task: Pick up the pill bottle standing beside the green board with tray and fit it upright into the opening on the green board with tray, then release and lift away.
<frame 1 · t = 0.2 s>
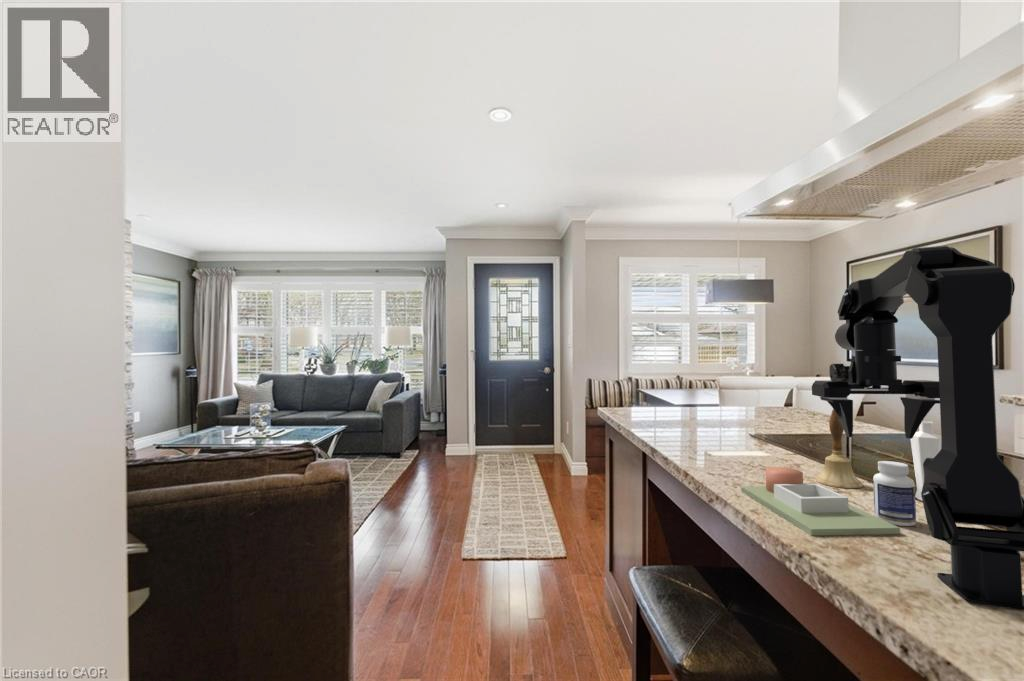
hand: (878, 437, 79), 14 cm above the countertop, fingers open, 9 cm apart
hand bell: (838, 483, 97), on the countertop
green board with tray: (809, 509, 81), on the countertop
pill bottle: (895, 522, 75), on the countertop
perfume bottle: (928, 500, 85), on the countertop
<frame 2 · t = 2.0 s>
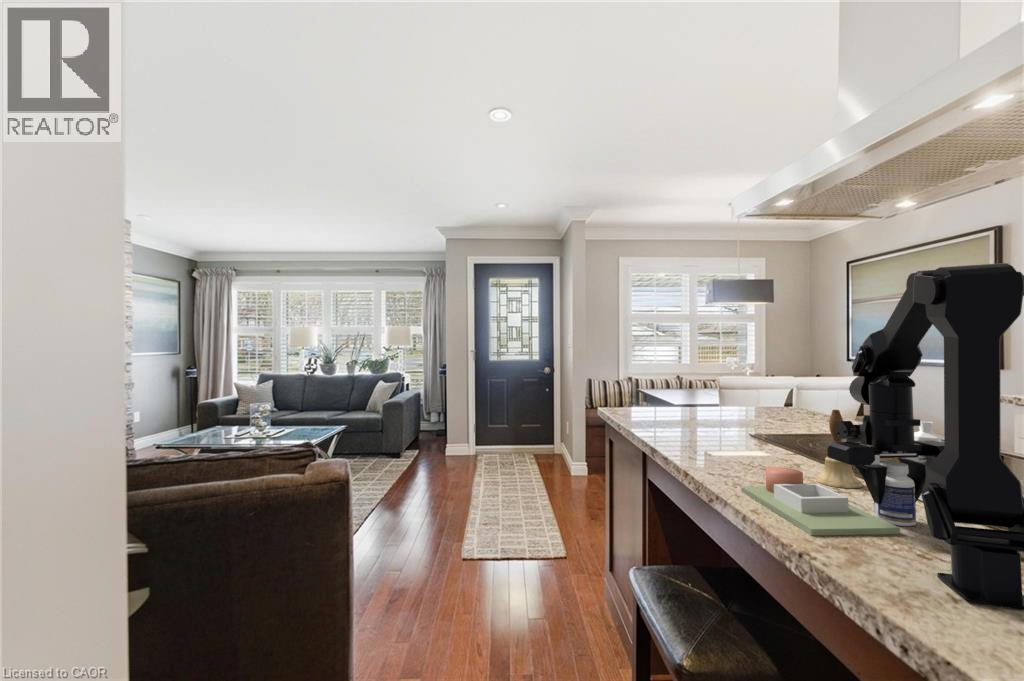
hand: (894, 502, 75), 3 cm above the countertop, fingers closed on pill bottle, 5 cm apart
pill bottle: (895, 522, 75), on the countertop, touching gripper
everything else where it was.
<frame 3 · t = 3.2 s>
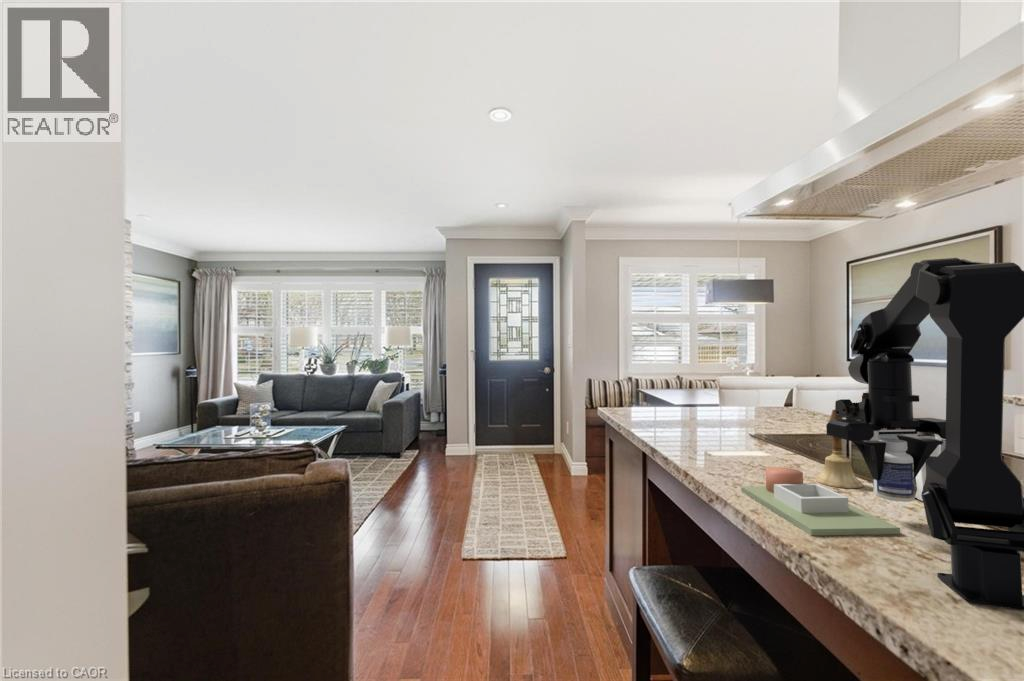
hand: (893, 479, 76), 7 cm above the countertop, fingers closed on pill bottle, 5 cm apart
pill bottle: (894, 498, 75), point 4 cm above the countertop, touching gripper
everything else where it was.
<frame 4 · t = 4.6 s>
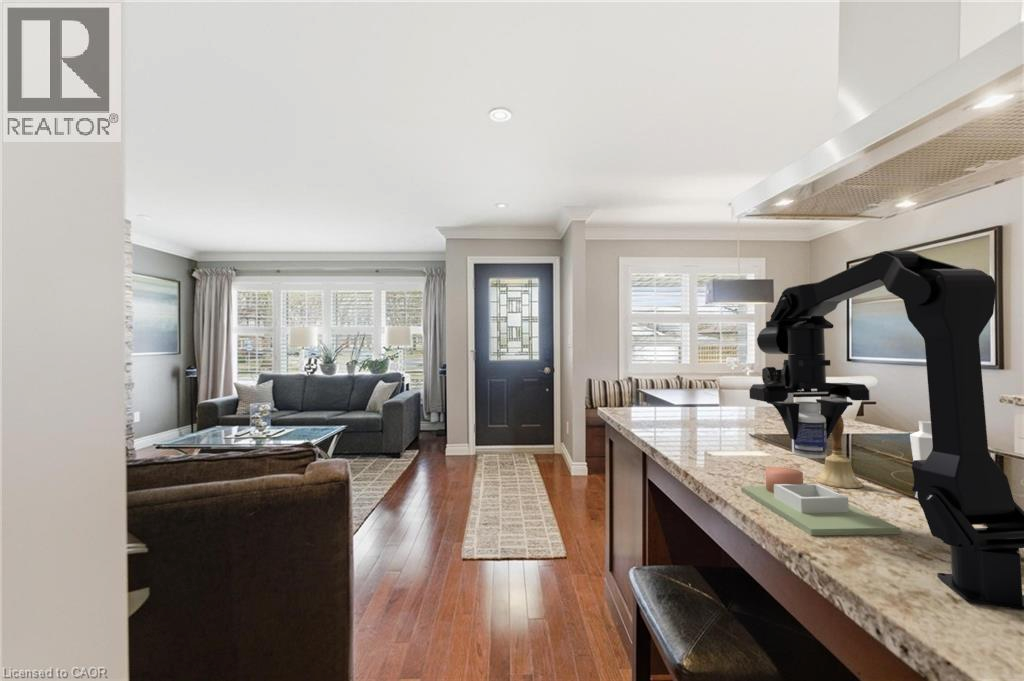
hand: (809, 439, 81), 13 cm above the countertop, fingers closed on pill bottle, 5 cm apart
pill bottle: (809, 456, 81), point 10 cm above the countertop, touching gripper
everything else where it was.
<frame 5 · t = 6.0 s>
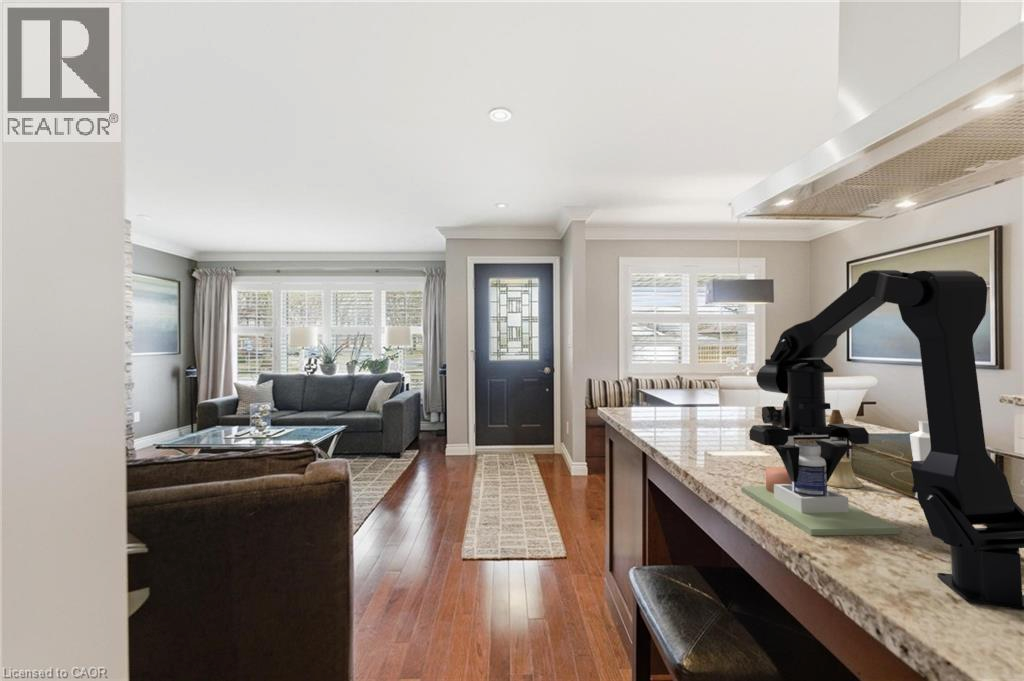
hand: (809, 481, 81), 5 cm above the countertop, fingers closed on pill bottle, 5 cm apart
pill bottle: (809, 499, 81), point 2 cm above the countertop, touching gripper
everything else where it was.
when the fingers open (5 cm above the countertop, at t = 6.9 s): pill bottle stays where it is, resting on green board with tray.
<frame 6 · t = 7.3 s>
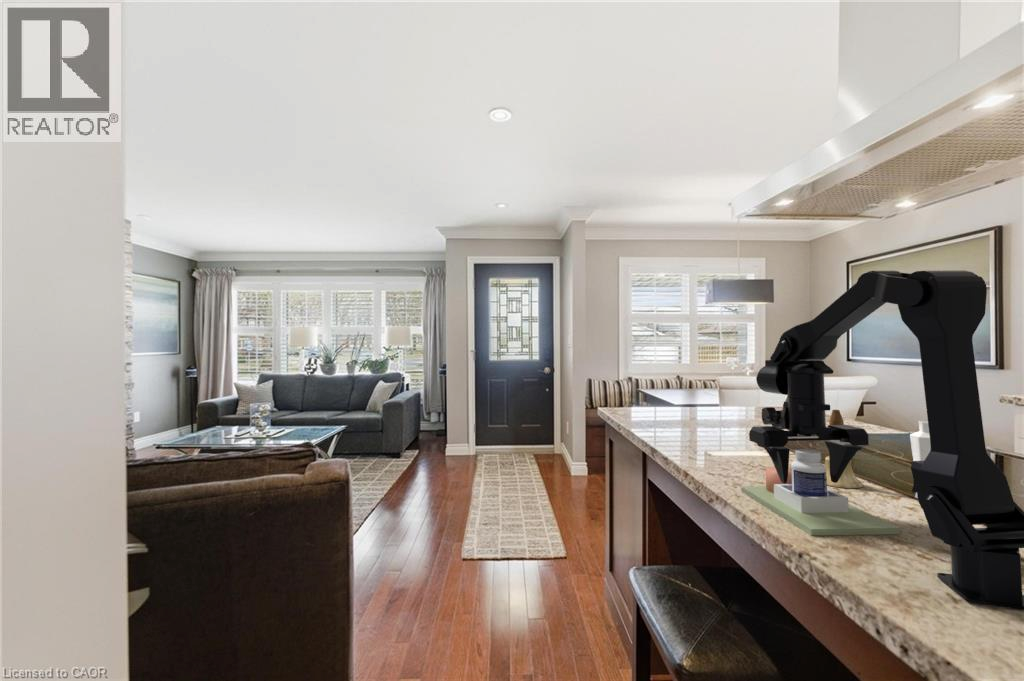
hand: (808, 482, 81), 5 cm above the countertop, fingers open, 9 cm apart
pill bottle: (809, 505, 81), point 1 cm above the countertop, touching green board with tray
everything else where it was.
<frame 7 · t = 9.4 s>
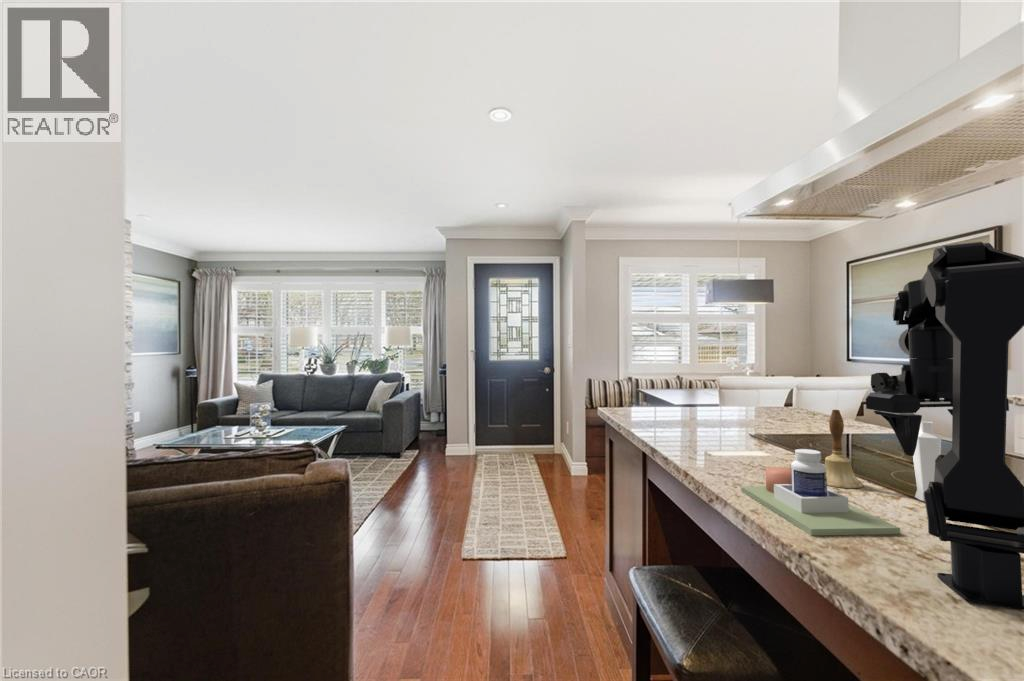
hand: (936, 454, 71), 12 cm above the countertop, fingers open, 9 cm apart
nothing on the countertop moved.
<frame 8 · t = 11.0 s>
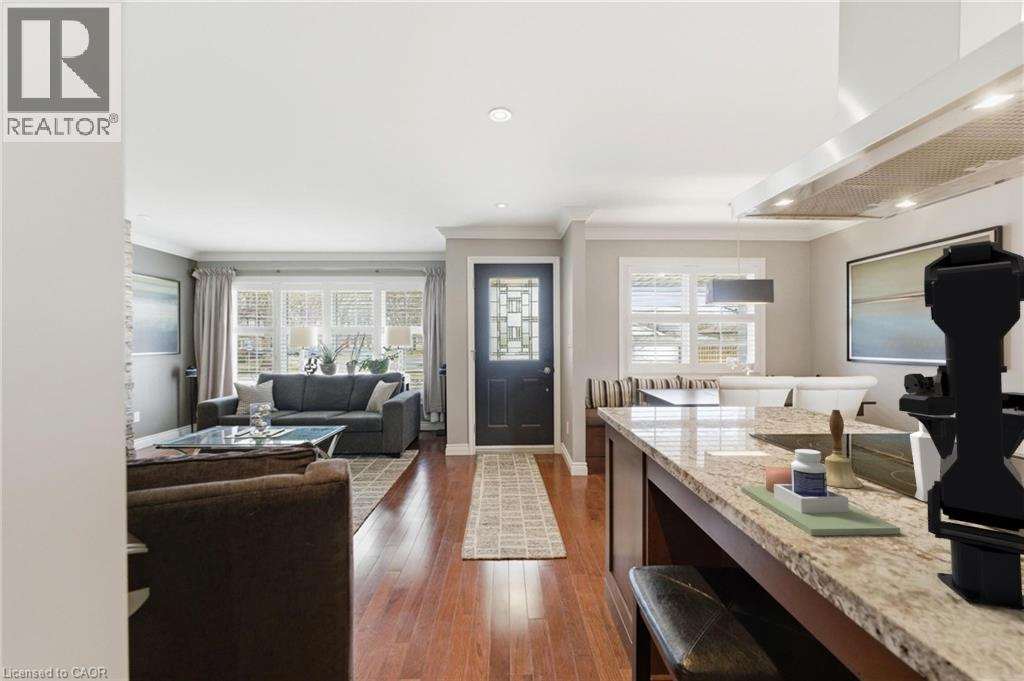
hand: (975, 458, 69), 12 cm above the countertop, fingers open, 9 cm apart
nothing on the countertop moved.
at the end: pill bottle 0.1 cm off-centre on the green board with tray, point 0.8 cm above the green board with tray's base; pill bottle tilted 0°; the gripper is holding nothing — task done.
